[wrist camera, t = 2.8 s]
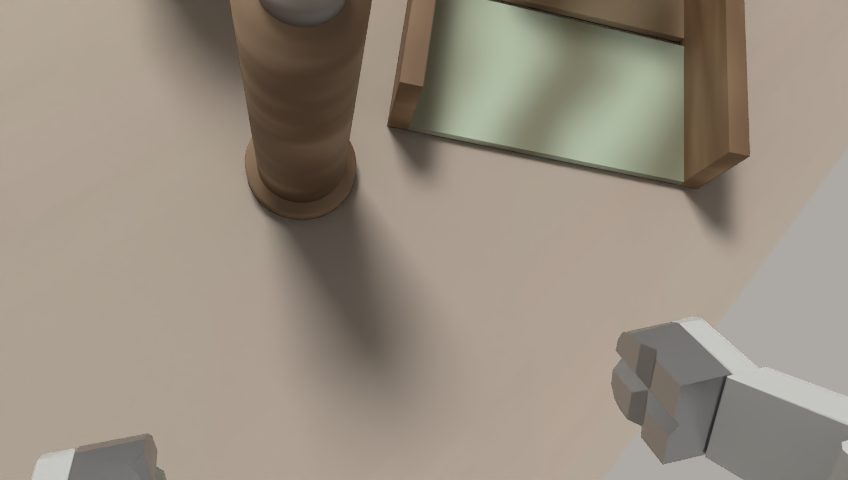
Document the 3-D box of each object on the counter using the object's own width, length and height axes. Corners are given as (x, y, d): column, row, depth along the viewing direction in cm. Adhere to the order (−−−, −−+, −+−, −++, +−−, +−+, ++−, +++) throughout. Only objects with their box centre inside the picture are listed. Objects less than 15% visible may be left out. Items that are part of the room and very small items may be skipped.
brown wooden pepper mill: (235, 208, 28) (182, 25, 15) (258, 111, 29) (227, -127, 17) (345, 228, 28) (379, 67, 16) (362, 132, 30) (405, -83, 17)
